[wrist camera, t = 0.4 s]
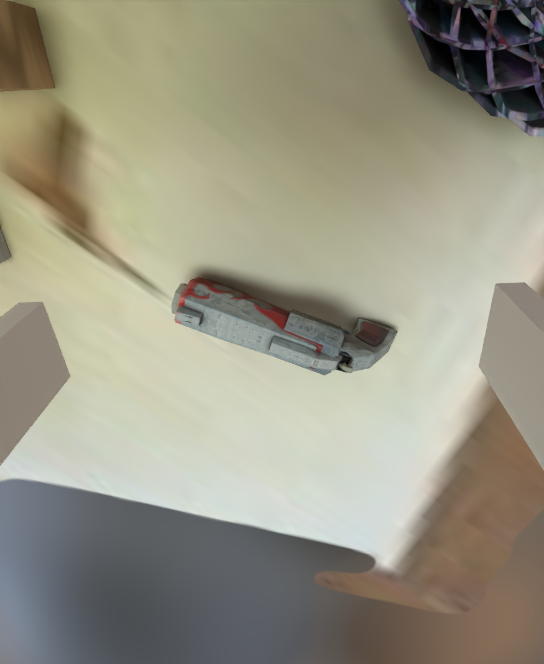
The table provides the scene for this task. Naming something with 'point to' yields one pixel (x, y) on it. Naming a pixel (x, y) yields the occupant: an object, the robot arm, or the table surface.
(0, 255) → the chassis bay
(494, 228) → the table surface
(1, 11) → the walnut block
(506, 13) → the decorative bowl
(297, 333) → the toy gun
